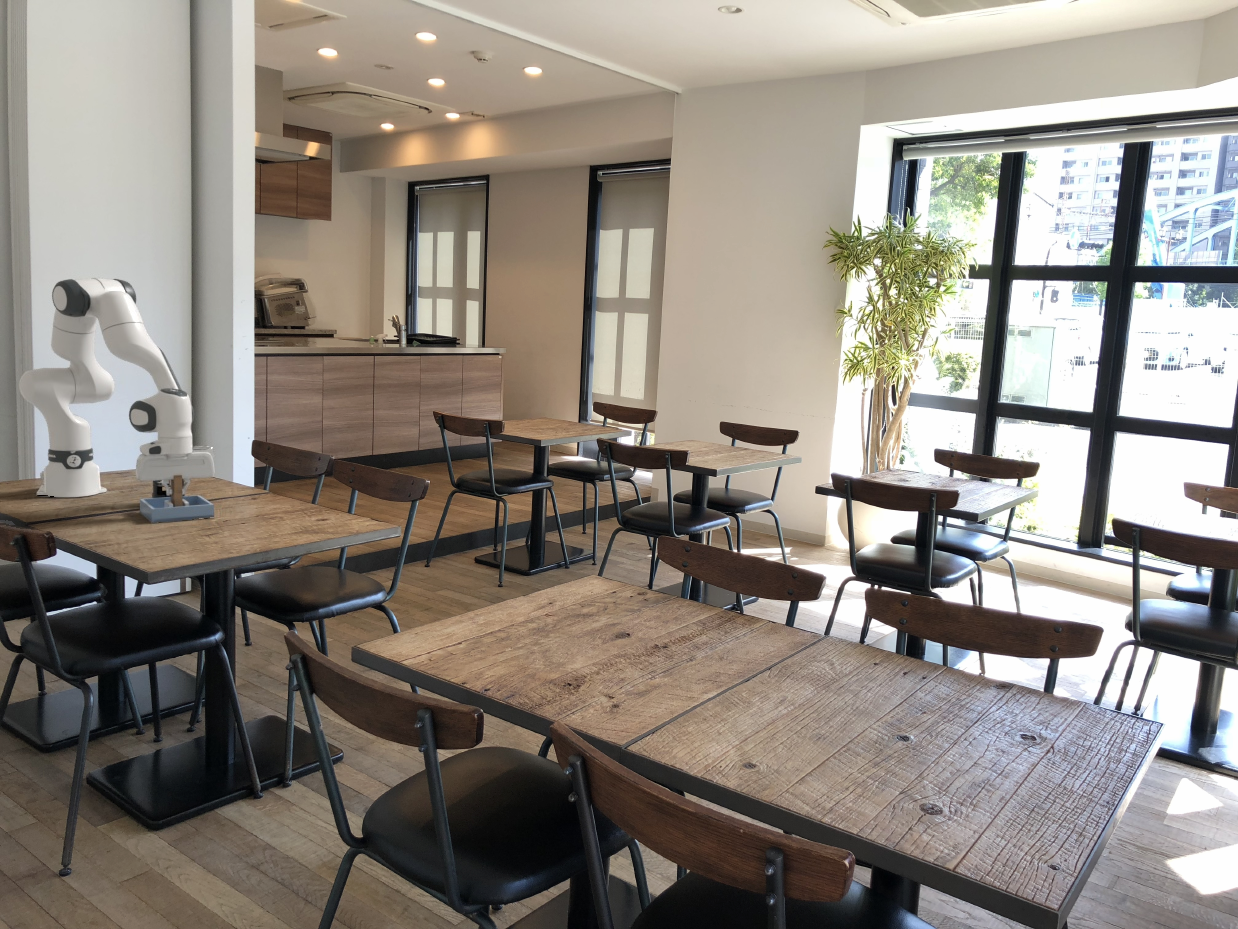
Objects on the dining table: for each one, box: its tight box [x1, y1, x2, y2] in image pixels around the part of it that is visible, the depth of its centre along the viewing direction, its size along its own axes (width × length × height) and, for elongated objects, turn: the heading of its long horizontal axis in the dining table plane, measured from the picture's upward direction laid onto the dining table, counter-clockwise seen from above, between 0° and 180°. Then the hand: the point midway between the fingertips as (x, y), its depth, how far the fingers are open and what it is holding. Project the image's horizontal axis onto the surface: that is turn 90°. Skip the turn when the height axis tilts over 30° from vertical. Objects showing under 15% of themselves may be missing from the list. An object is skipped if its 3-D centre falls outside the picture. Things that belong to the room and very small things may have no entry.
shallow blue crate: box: [139, 494, 215, 524], centre depth 263 cm, size 16×16×4 cm
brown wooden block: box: [170, 475, 183, 507], centre depth 262 cm, size 5×2×10 cm, turn 38°
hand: (176, 494), depth 263 cm, fingers closed on brown wooden block, 2 cm apart
